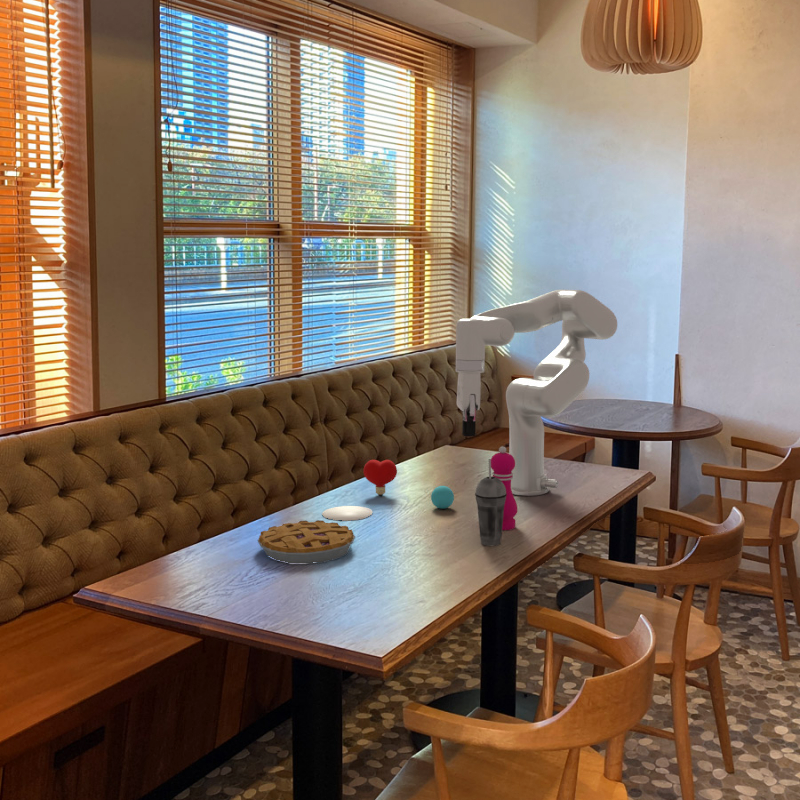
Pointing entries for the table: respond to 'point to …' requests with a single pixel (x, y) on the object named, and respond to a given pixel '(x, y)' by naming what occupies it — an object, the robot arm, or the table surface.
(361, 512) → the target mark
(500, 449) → the pepper mill
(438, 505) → the ball
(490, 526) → the beverage cup
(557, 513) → the table surface
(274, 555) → the pie
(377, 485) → the light bulb
